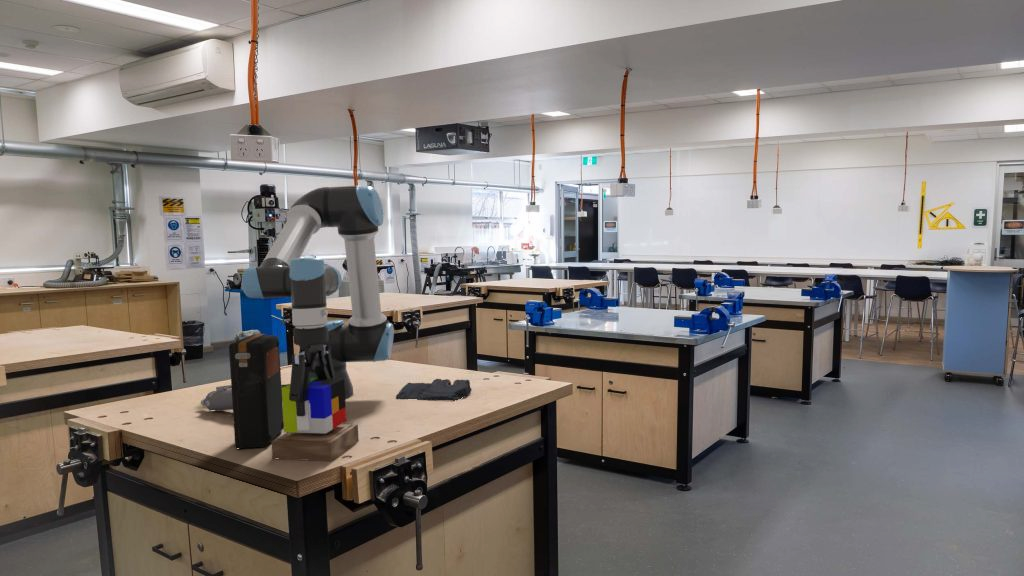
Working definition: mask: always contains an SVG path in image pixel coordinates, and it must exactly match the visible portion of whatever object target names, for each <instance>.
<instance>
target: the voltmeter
mask: <svg viewBox="0 0 1024 576" xmlns="http://www.w3.org/2000/svg"><path fill="white" fill-rule="evenodd" d="M228 352H229V353H228V354H229V368H230V371H229V372H230V385H231V388H230V389H232V403H233V409H232V418H233V432H234V434H233V435H234V447H235V449H237V448H241V449H245V448H244V447H250V448H262V447H263V448H264V447H267V446H268V445H269V444H270V443H271V441H273V440H274V439H276V438H277V436H278V435H279V434H280V433H281V432H282V430H284V419H283V402H282V388H281V385H282V374H281V358H280V355H281V354H280V340H279V337H278V336H277V335H275V334H273V335H272V334H271V335H266V334H265V333H261V334H257V335H255V336H254V335H250V336H248V337H245V338H243V339H241V340H238V341H236V342H234V343H233V342H232V343H230V344H229V345H228Z"/></svg>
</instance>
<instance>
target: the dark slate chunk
mask: <svg viewBox="0 0 1024 576" xmlns="http://www.w3.org/2000/svg"><path fill="white" fill-rule="evenodd" d="M470 392H472V388H471V382H470V379H455V380H454V381H453V384H452V381H451V380H450V379H441V378H435V379H433V381H432V382H431V383H430V382H407V383H405V385H404V386H403V387H402V388H401V389H400V390H399V391H398V392H397V394H396V396H395V400H408V399H417V400H416V401H436V400H453V401H452V402H456V401H459V400H458V399H461V398H462V397H463V398H465V397H468V396H469V395H470V394H471V393H470ZM469 393H470V394H469ZM468 394H469V395H468ZM467 395H468V396H467ZM464 396H465V397H464ZM463 398H462V399H463ZM462 399H461V400H462ZM455 400H456V401H455Z"/></svg>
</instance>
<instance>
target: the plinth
mask: <svg viewBox="0 0 1024 576" xmlns="http://www.w3.org/2000/svg"><path fill="white" fill-rule="evenodd" d="M359 438H360V437H359V424H356V423H354V424H353V423H350V424H349V423H345V424H344V423H342V424H340V425H339V426H337V427H335V428H334V429H332V430H331V431H329V432H327V433H326V434H324V433H292V432H284V434H282V435H280V436H278V437H275V438H274V439H273V440H272V441H271V442H270V443H271V457H272V458H279V459H278V460H284V459H308V460H307V461H316V460H324V461H323V462H333V461H334V460H335V459H336V458H338V457H339V456H340V455H342V454H343V453H345V452H347V450H349V449H350V448H351V447H352V446H354V445H355V444H357V443H358V442H359ZM272 458H271V459H272Z"/></svg>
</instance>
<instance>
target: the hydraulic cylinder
mask: <svg viewBox="0 0 1024 576" xmlns="http://www.w3.org/2000/svg"><path fill="white" fill-rule="evenodd" d="M287 385H290V383H287V384H286V383H285V384H281V388H283V387H285V386H287ZM200 404H201V405H202V406H203V407H206V409H207V410H208V411H210V410H223V411H230V410H232V411H233V403H232V388H231V384H230V385H229V384H227V385H221V386H215V390H213V391H212V390H211V391H209V392H208V393H207V395H206V396H205V398H202V400H201V401H200Z"/></svg>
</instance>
